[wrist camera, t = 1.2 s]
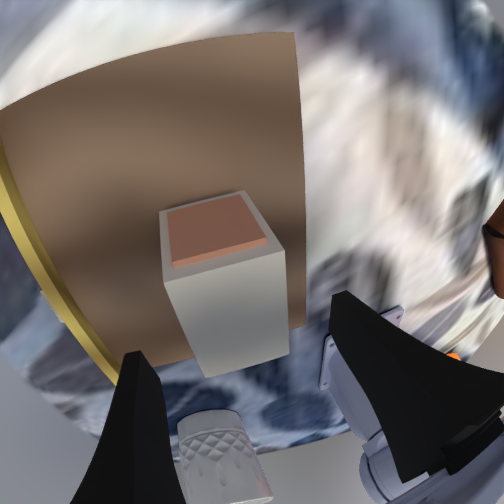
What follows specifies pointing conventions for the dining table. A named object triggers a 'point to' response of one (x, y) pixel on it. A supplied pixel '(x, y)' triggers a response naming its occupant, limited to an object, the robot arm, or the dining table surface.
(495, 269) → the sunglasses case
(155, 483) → the robot arm
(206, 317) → the carton
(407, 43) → the dining table surface
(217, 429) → the white cup
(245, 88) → the shelf board
